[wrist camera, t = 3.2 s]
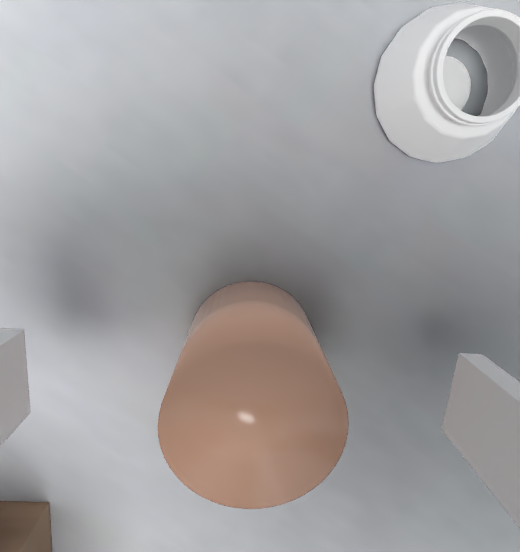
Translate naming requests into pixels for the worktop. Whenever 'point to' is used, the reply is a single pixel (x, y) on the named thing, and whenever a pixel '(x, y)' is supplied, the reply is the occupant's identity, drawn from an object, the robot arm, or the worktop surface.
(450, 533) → the worktop surface
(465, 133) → the white jar
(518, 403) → the robot arm
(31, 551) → the walnut block
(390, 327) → the worktop surface
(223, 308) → the salmon pink cylinder
